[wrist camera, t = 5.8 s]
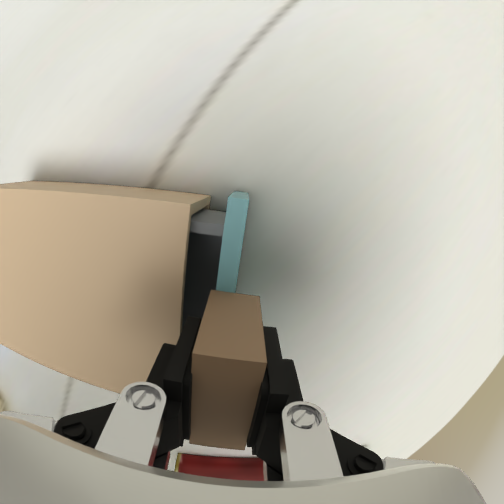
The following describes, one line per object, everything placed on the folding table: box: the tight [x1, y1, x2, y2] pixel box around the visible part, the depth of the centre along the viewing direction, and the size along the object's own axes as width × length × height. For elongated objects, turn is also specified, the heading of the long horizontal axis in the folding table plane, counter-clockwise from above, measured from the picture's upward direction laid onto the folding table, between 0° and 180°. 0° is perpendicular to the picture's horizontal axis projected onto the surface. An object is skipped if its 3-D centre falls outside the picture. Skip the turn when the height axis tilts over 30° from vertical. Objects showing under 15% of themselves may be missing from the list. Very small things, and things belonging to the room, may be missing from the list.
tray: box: [182, 191, 267, 450], centre depth 12 cm, size 16×12×11 cm
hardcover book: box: [174, 453, 264, 481], centre depth 24 cm, size 12×21×4 cm, turn 89°
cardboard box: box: [0, 181, 211, 394], centre depth 15 cm, size 15×11×6 cm
